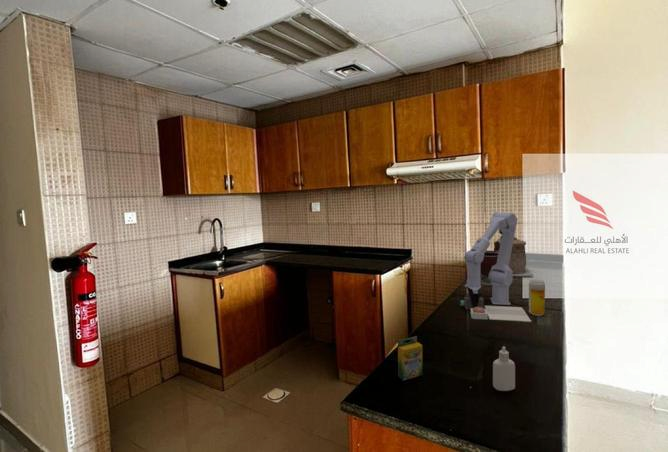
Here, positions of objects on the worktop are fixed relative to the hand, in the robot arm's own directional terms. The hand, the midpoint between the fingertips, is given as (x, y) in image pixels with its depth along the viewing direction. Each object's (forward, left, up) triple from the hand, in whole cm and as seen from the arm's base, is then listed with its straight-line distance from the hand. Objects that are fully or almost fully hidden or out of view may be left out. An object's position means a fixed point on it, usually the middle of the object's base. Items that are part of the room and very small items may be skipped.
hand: (474, 304), depth 166 cm
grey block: (0, 0, -2) cm, 2 cm away
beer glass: (+4, +25, -2) cm, 26 cm away
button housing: (+11, +1, -2) cm, 11 cm away
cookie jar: (-76, +28, -2) cm, 81 cm away
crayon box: (+68, -24, -2) cm, 72 cm away
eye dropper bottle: (+69, +2, -2) cm, 69 cm away
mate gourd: (-49, +12, -2) cm, 51 cm away
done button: (+11, +1, 0) cm, 11 cm away
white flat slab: (+5, +13, -2) cm, 14 cm away
